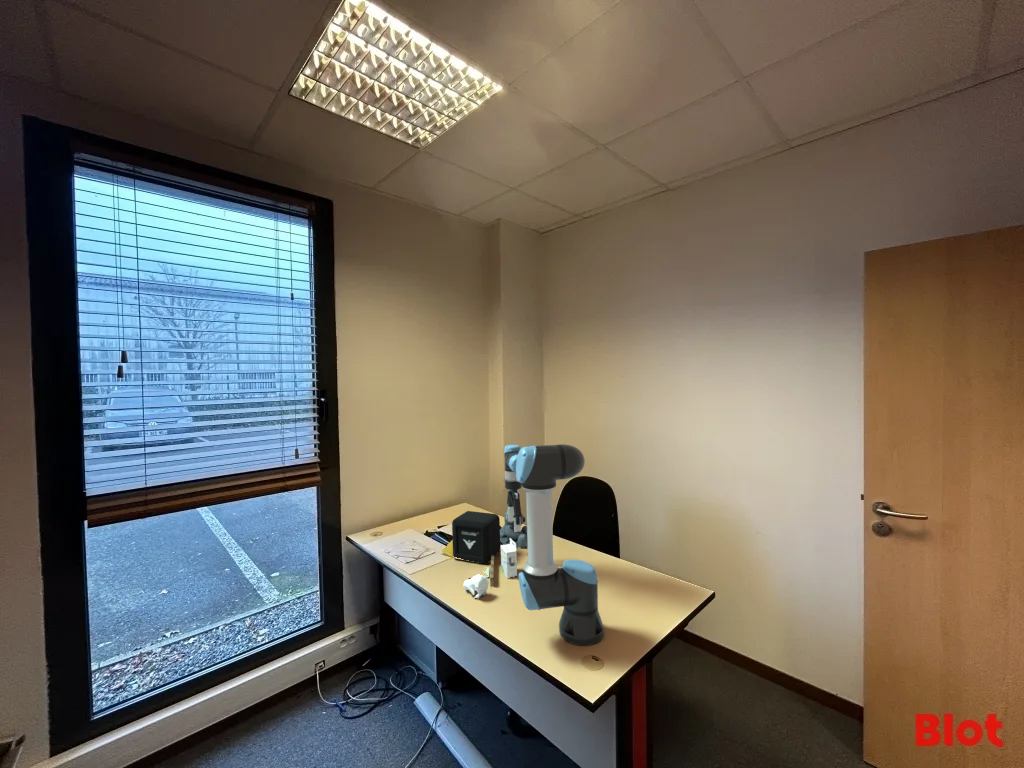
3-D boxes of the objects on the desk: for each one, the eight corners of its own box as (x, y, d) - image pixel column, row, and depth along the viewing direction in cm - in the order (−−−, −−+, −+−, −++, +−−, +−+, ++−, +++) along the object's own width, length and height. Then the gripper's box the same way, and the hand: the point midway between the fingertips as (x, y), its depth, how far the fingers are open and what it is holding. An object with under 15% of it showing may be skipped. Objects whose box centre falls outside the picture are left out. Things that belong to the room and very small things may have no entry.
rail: (493, 586, 171) (492, 577, 171) (490, 586, 171) (490, 577, 171) (494, 563, 193) (493, 555, 193) (491, 563, 193) (491, 555, 193)
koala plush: (527, 549, 208) (526, 511, 208) (493, 547, 211) (492, 510, 211) (531, 536, 225) (531, 501, 225) (500, 535, 228) (499, 500, 228)
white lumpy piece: (478, 579, 160) (458, 573, 167) (480, 601, 159) (459, 594, 167) (489, 573, 164) (469, 568, 172) (491, 595, 164) (471, 588, 172)
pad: (488, 578, 178) (488, 577, 178) (468, 579, 178) (468, 577, 178) (489, 568, 187) (489, 567, 187) (469, 569, 187) (469, 568, 187)
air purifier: (450, 560, 198) (449, 519, 198) (465, 548, 211) (464, 510, 211) (487, 566, 190) (486, 524, 190) (500, 554, 204) (499, 514, 203)
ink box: (500, 570, 185) (499, 538, 185) (510, 568, 187) (510, 536, 187) (507, 579, 177) (506, 545, 177) (517, 577, 179) (516, 543, 179)
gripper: (527, 485, 172) (529, 535, 172) (515, 472, 197) (516, 516, 197) (510, 487, 171) (511, 537, 171) (500, 473, 195) (501, 517, 195)
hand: (514, 525), depth 184 cm, fingers open, 13 cm apart
